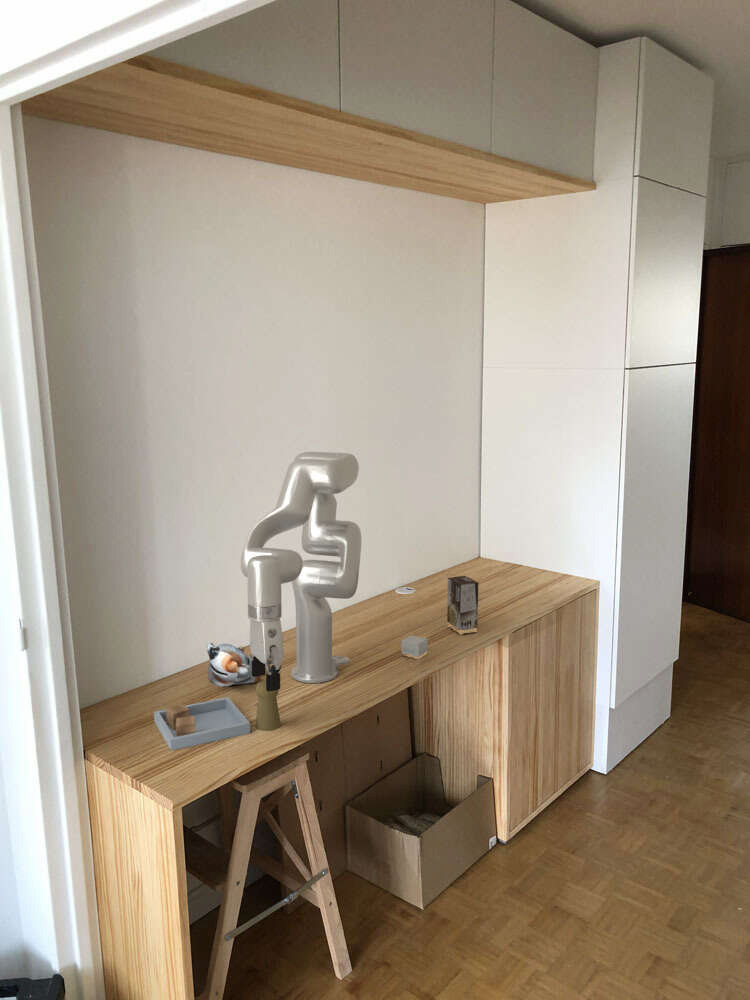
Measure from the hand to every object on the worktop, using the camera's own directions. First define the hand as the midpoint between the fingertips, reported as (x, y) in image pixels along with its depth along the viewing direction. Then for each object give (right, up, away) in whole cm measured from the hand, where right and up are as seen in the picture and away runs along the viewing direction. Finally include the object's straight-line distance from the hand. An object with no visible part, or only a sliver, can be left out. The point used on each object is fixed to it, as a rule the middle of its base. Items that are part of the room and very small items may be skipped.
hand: (265, 682), depth 190 cm
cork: (0, -11, +3) cm, 12 cm away
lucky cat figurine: (-12, -6, +29) cm, 32 cm away
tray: (-15, -11, +2) cm, 19 cm away
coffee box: (+52, +1, +69) cm, 86 cm away
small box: (+36, -3, +48) cm, 60 cm away
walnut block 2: (-17, -12, -3) cm, 21 cm away
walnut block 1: (-21, -10, +3) cm, 23 cm away
